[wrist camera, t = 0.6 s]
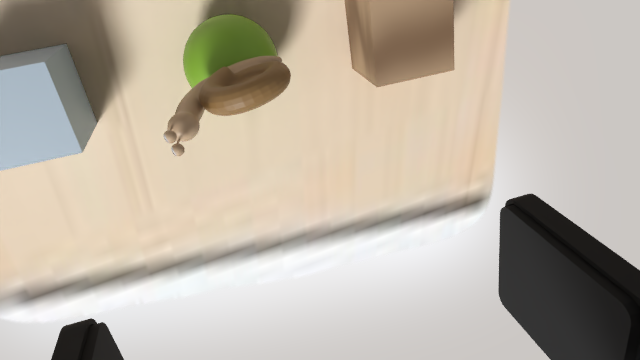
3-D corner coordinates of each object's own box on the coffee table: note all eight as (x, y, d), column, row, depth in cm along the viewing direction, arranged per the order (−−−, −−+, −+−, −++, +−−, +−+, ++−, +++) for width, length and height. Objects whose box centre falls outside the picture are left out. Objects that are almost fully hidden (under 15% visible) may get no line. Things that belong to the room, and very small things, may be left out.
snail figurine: (152, 36, 29) (132, 89, 19) (249, -6, 29) (284, 23, 19) (194, 115, 32) (197, 199, 21) (283, 75, 32) (329, 140, 22)
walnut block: (343, -9, 31) (369, -1, 26) (416, -23, 31) (453, -17, 27) (352, 68, 33) (377, 87, 29) (419, 53, 34) (454, 69, 29)
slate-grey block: (-25, 60, 27) (-65, 82, 23) (66, 43, 28) (44, 61, 24) (14, 140, 30) (-16, 174, 25) (97, 122, 30) (82, 152, 26)
